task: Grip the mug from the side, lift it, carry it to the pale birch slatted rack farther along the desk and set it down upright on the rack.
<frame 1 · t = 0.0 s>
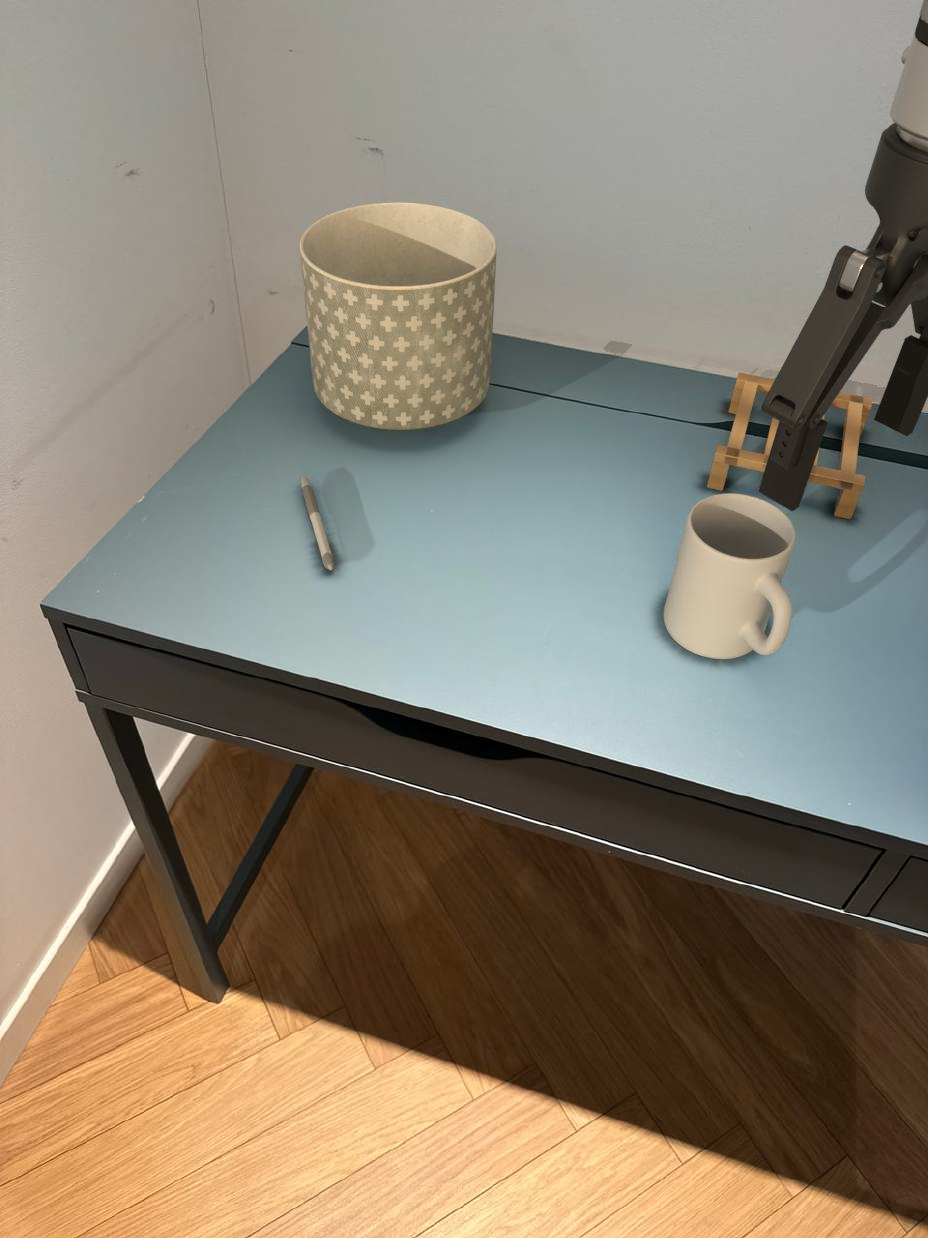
hand: (838, 461, 66), 20 cm above the table, tool pointing down, fingers open, 13 cm apart
pen: (317, 529, 91), on the table
rack: (786, 458, 100), on the table
mug: (723, 639, 82), on the table
planter: (402, 405, 106), on the table
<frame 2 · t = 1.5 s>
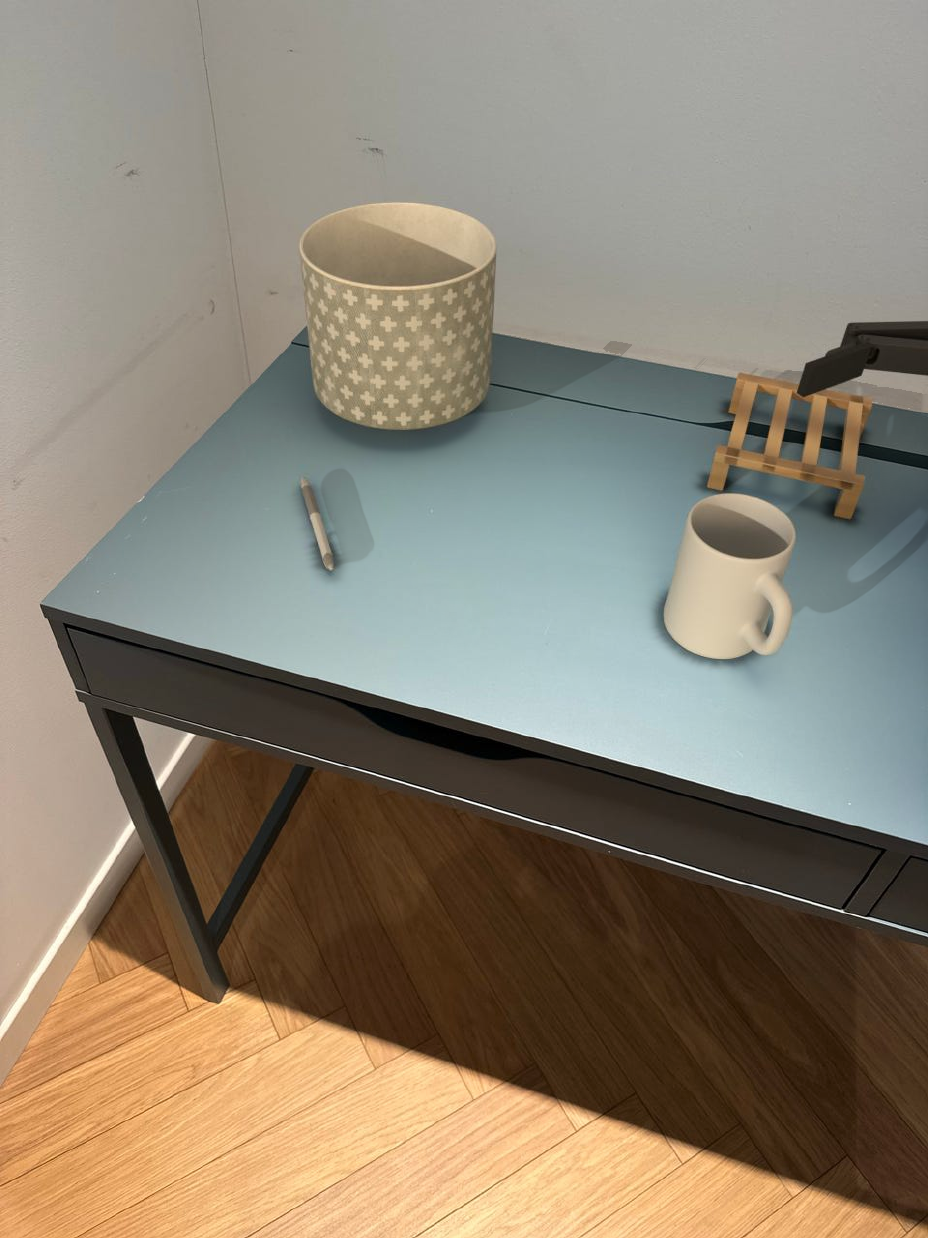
hand: (869, 424, 72), 19 cm above the table, tool horizontal, fingers open, 13 cm apart
nothing on the table moved.
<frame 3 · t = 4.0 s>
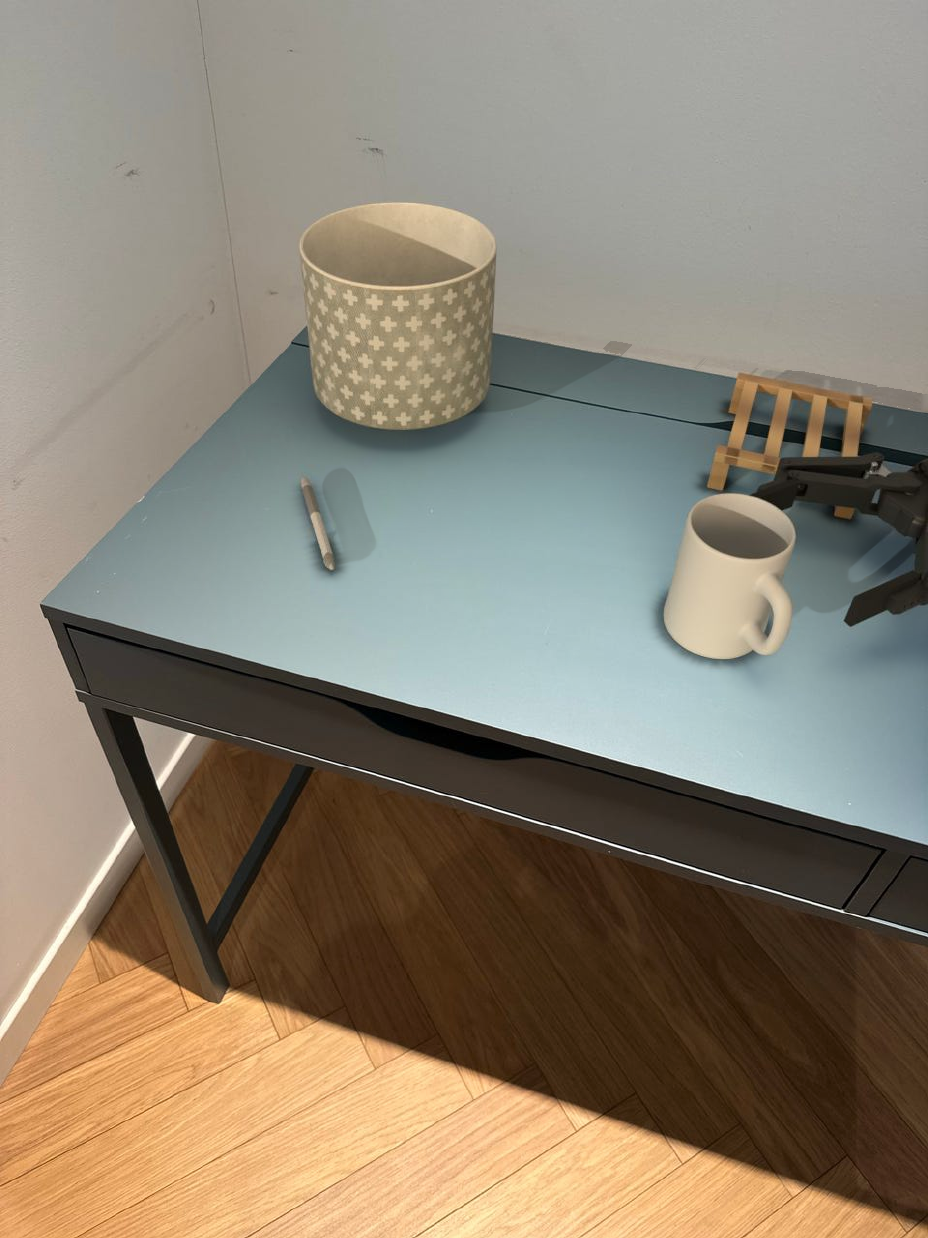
hand: (791, 560, 79), 6 cm above the table, tool horizontal, fingers open, 13 cm apart
nothing on the table moved.
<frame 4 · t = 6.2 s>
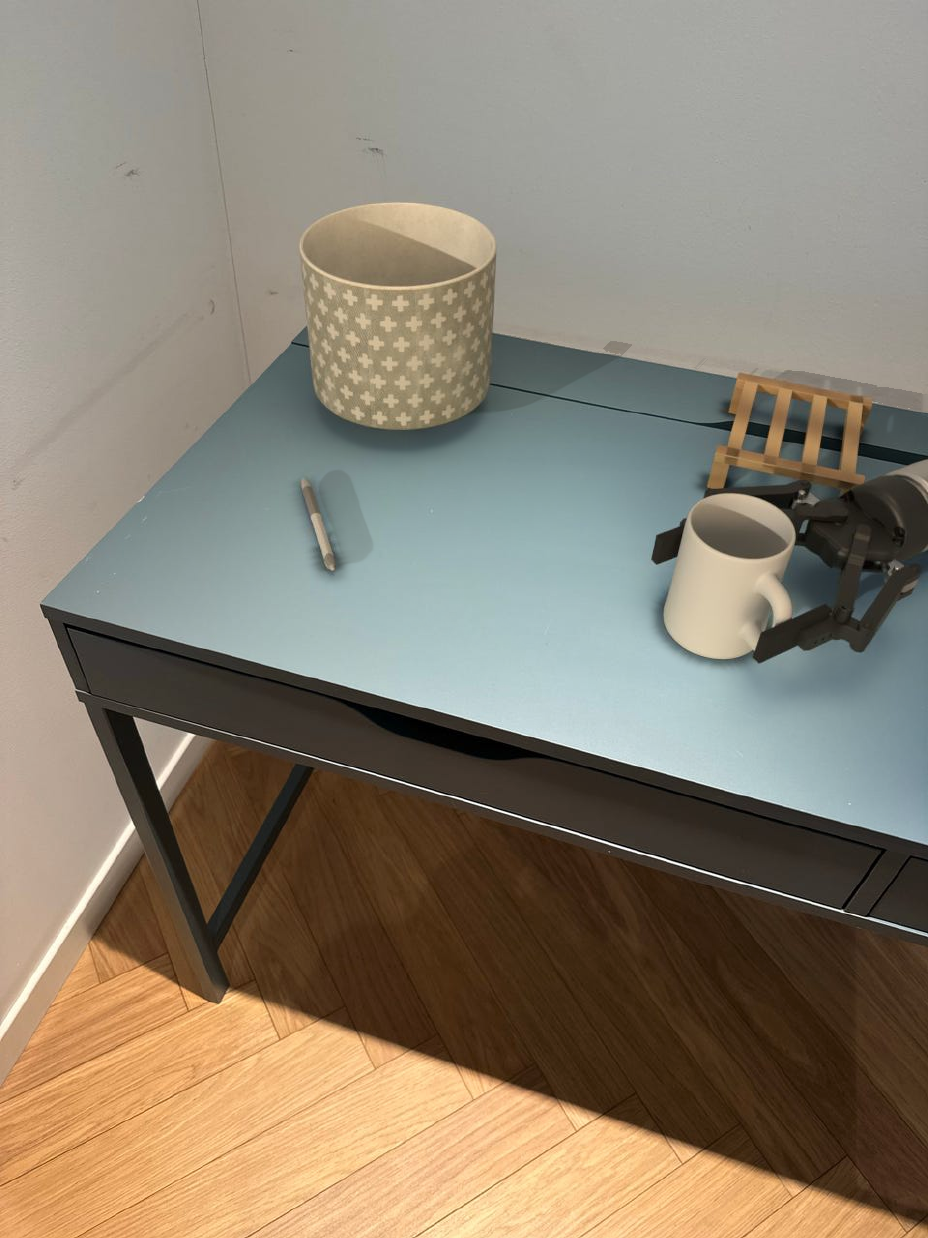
hand: (705, 596, 76), 6 cm above the table, tool horizontal, fingers closed on mug, 12 cm apart
mug: (722, 639, 82), on the table, touching gripper
everything else where it was.
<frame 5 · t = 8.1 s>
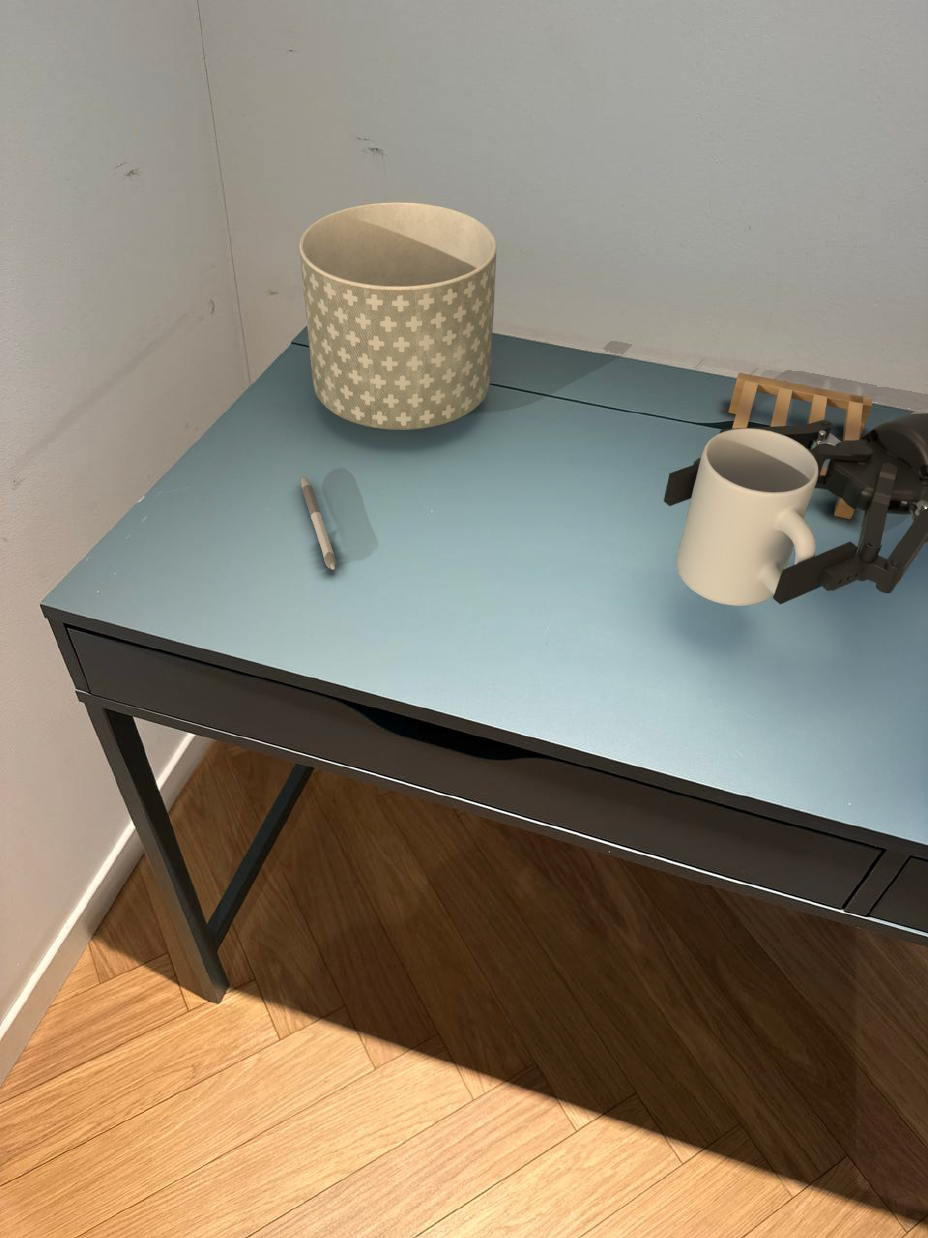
hand: (722, 536, 71), 13 cm above the table, tool horizontal, fingers closed on mug, 12 cm apart
mug: (739, 586, 77), point 6 cm above the table, touching gripper
everything else where it was.
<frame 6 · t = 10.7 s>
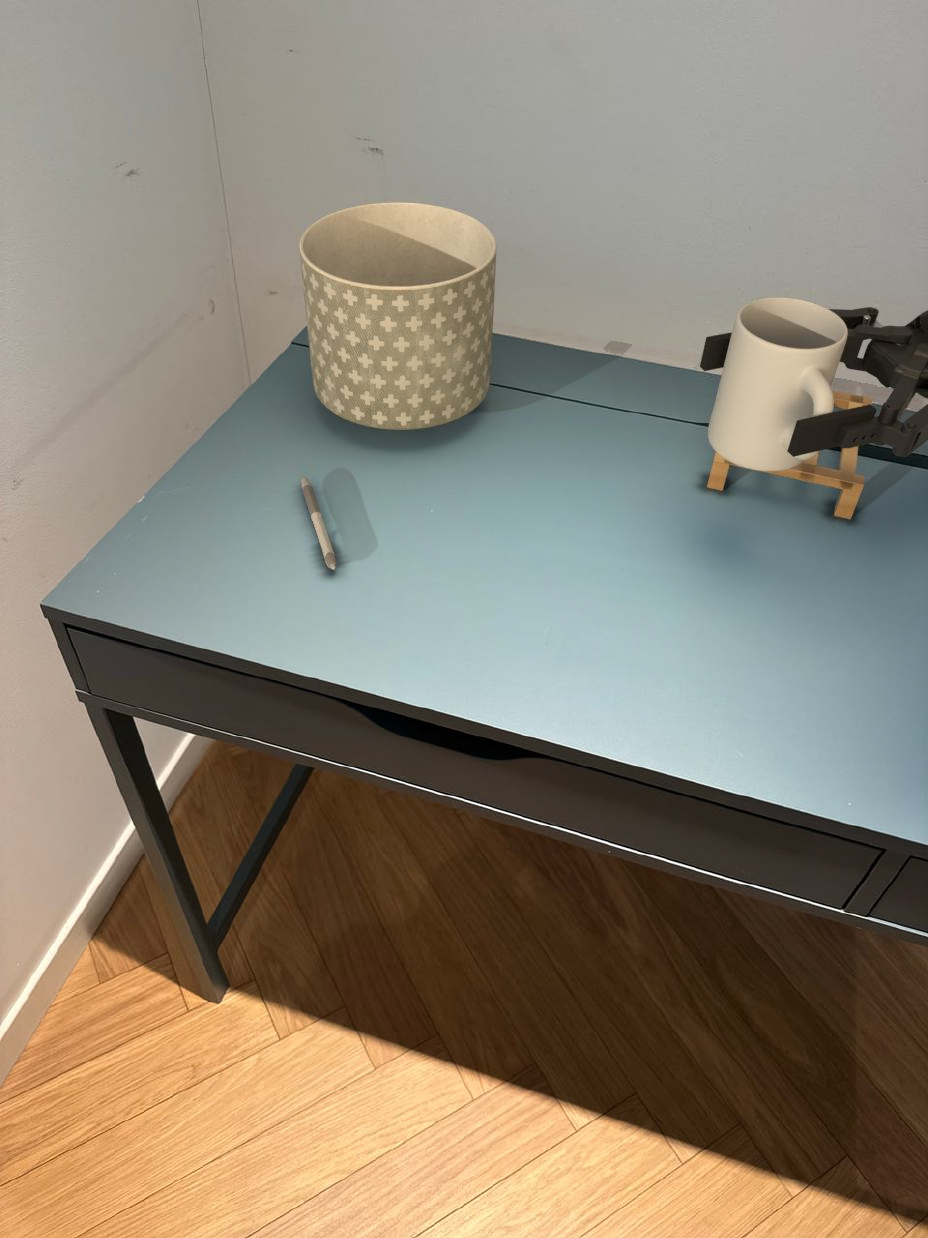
hand: (747, 394, 74), 18 cm above the table, tool horizontal, fingers closed on mug, 12 cm apart
mug: (766, 455, 80), point 12 cm above the table, touching gripper
everything else where it was.
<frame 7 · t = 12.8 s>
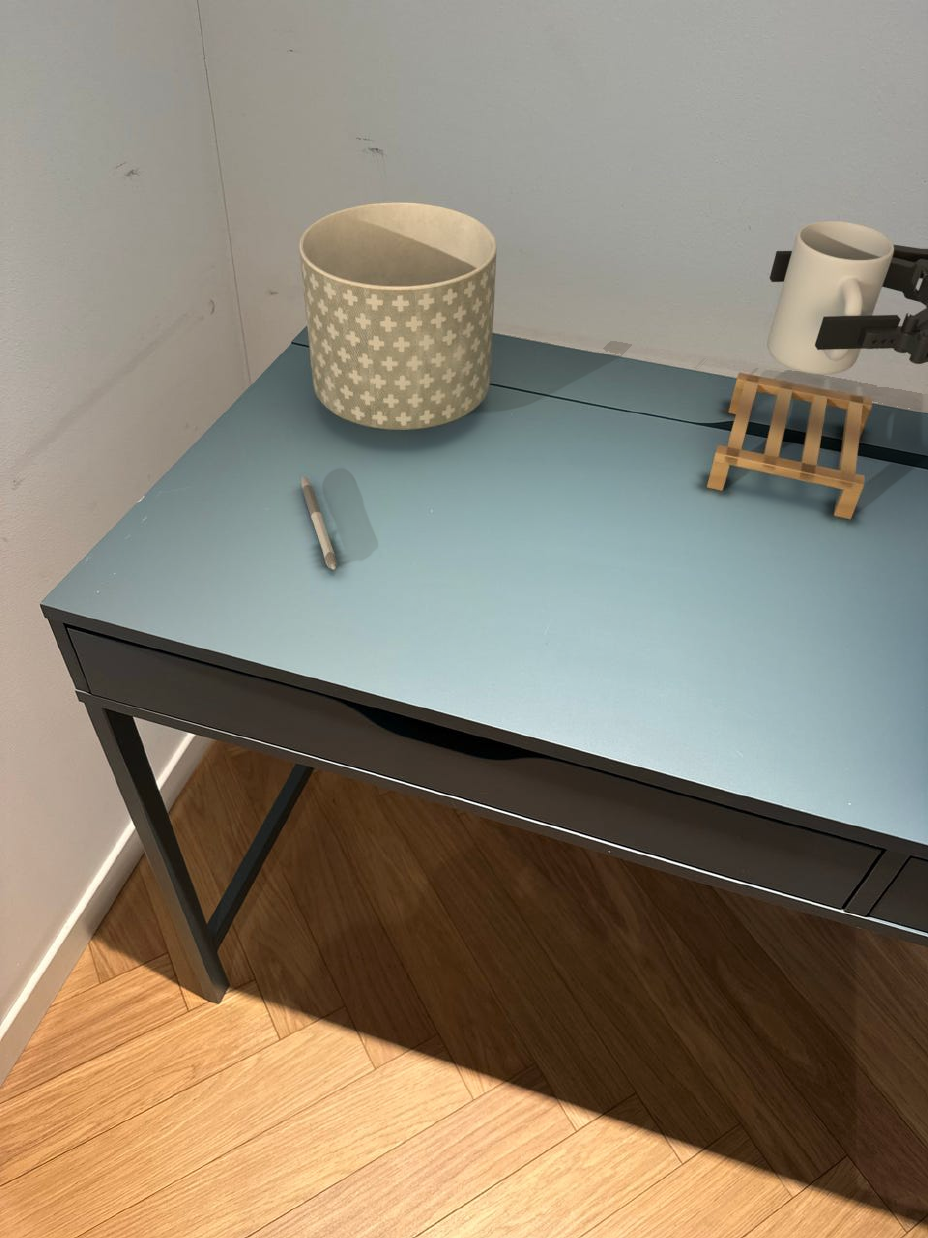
hand: (795, 298, 87), 18 cm above the table, tool horizontal, fingers closed on mug, 12 cm apart
mug: (814, 363, 92), point 11 cm above the table, touching gripper
everything else where it was.
when the fingers open (11 cm above the table, at t = 16.0 s): mug stays where it is, resting on rack.
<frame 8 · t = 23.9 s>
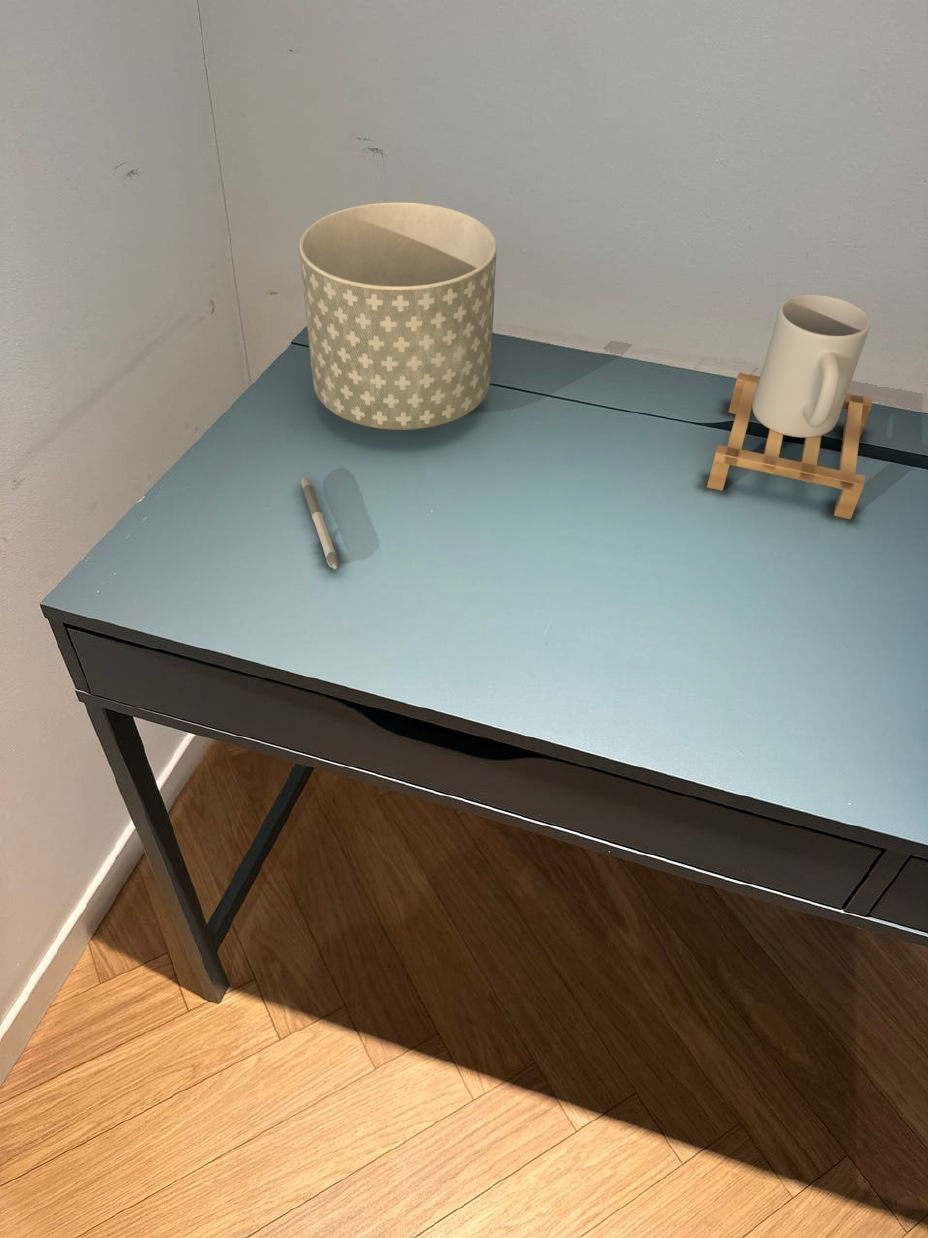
mug: (796, 425, 97), point 4 cm above the table, touching rack
everything else where it was.
at the end: mug inside the target area on the rack (0.0 cm from its centre), point 4.0 cm above the rack's base; mug tilted 0°; the gripper is holding nothing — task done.
